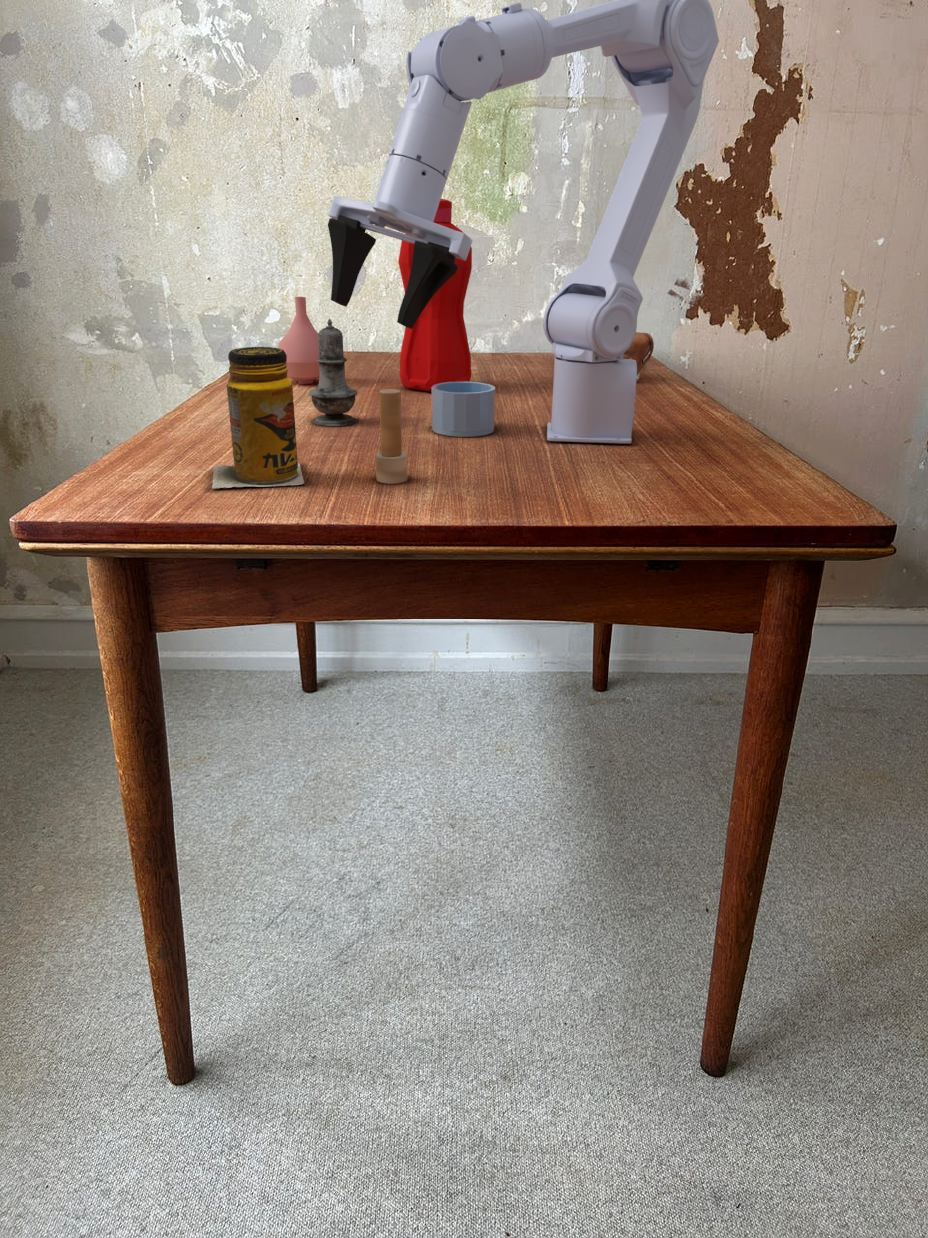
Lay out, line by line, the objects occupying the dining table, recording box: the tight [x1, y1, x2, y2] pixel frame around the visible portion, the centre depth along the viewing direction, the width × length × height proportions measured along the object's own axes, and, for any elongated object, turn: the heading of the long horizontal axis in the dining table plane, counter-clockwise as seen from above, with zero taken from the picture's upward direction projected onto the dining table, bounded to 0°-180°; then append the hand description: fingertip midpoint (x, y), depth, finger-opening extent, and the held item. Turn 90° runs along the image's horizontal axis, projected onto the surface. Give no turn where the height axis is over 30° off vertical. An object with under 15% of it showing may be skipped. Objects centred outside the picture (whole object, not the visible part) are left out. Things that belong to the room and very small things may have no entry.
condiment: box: [211, 346, 305, 489], centre depth 84 cm, size 7×8×12 cm
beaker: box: [431, 381, 497, 438], centre depth 105 cm, size 7×7×5 cm
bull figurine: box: [623, 331, 655, 382], centre depth 139 cm, size 4×13×8 cm, turn 42°
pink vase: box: [277, 296, 320, 385], centre depth 130 cm, size 8×8×12 cm
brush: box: [375, 388, 408, 485], centre depth 85 cm, size 3×3×8 cm
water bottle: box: [397, 198, 473, 393], centre depth 126 cm, size 9×11×25 cm
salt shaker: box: [308, 318, 359, 427], centre depth 106 cm, size 6×6×12 cm
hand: (371, 314), depth 85 cm, fingers open, 7 cm apart
